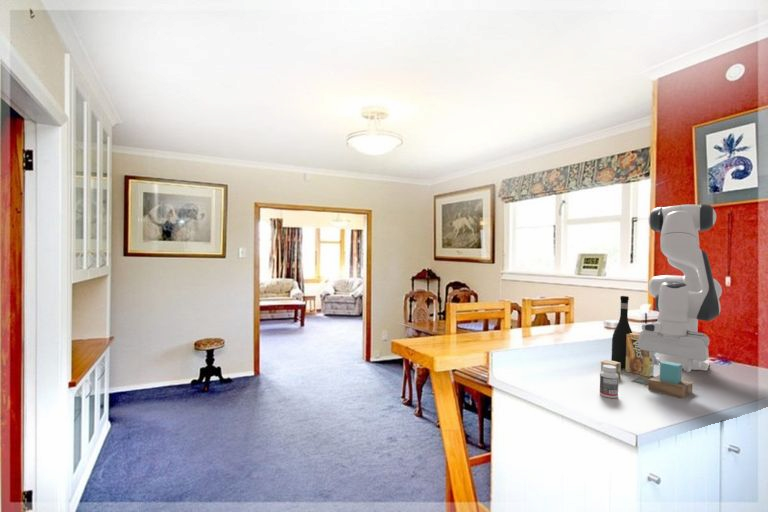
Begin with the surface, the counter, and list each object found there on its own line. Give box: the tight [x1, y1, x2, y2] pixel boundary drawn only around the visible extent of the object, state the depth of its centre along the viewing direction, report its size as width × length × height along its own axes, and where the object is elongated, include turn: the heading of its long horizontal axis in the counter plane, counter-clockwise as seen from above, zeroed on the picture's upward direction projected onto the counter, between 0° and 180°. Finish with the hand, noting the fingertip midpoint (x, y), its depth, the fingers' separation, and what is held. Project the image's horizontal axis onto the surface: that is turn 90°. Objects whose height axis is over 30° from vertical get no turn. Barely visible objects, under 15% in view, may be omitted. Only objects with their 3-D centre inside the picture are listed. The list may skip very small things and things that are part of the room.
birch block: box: [600, 359, 621, 379], centre depth 154 cm, size 5×5×6 cm
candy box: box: [625, 332, 655, 378], centre depth 161 cm, size 9×4×15 cm, turn 33°
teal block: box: [659, 361, 683, 384], centre depth 140 cm, size 5×5×6 cm
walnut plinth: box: [647, 374, 694, 399], centre depth 140 cm, size 10×10×4 cm
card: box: [630, 376, 650, 386], centre depth 151 cm, size 8×5×1 cm, turn 127°
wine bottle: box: [610, 295, 633, 370], centre depth 169 cm, size 8×8×30 cm
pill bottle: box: [599, 365, 620, 399], centre depth 134 cm, size 5×5×10 cm
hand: (670, 367), depth 140 cm, fingers open, 8 cm apart
